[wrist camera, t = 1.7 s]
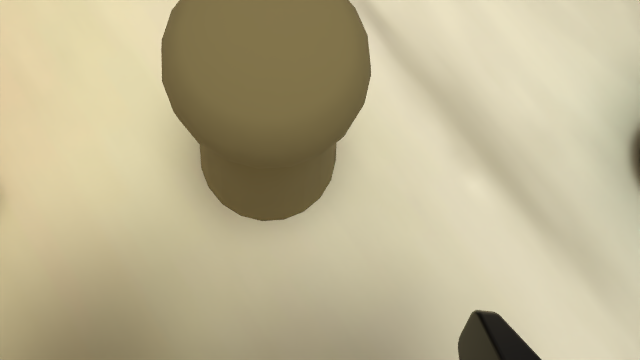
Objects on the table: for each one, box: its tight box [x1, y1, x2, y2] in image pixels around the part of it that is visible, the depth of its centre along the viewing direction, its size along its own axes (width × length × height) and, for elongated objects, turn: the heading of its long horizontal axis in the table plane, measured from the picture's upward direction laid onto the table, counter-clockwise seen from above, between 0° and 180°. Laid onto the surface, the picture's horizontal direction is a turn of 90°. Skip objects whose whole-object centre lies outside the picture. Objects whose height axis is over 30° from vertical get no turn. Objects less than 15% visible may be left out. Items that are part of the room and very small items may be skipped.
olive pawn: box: [161, 0, 371, 221], centre depth 15 cm, size 6×6×11 cm
